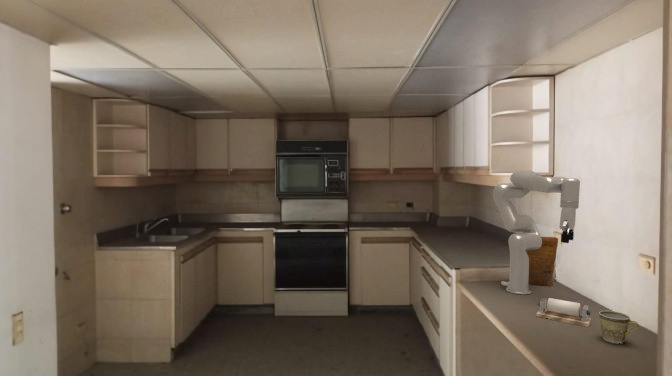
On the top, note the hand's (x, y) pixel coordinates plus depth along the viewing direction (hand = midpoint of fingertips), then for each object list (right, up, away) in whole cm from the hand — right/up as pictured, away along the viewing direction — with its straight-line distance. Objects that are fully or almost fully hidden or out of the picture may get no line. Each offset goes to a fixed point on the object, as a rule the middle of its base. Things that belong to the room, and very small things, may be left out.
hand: (567, 241), depth 199 cm
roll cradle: (-8, -33, -12) cm, 36 cm away
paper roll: (-8, -30, -12) cm, 34 cm away
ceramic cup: (-1, -34, -37) cm, 50 cm away
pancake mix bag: (+8, -31, +45) cm, 55 cm away
